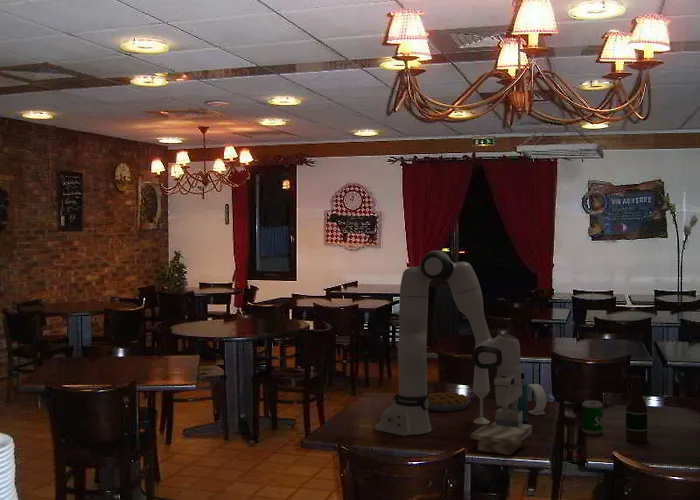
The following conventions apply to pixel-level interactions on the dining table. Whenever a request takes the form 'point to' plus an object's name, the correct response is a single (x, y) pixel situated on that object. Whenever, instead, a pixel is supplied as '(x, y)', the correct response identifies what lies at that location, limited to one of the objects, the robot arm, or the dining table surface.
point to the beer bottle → (636, 414)
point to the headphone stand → (538, 399)
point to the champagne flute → (481, 390)
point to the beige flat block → (524, 428)
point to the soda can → (592, 417)
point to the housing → (509, 418)
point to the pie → (447, 401)
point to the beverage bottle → (523, 399)
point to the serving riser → (499, 438)
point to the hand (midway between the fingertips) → (510, 413)
